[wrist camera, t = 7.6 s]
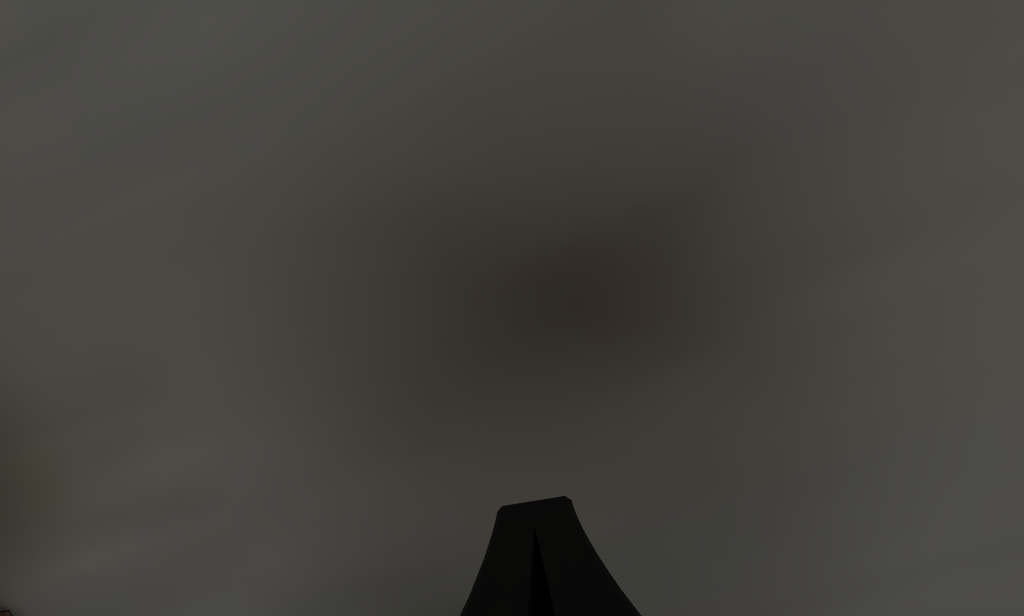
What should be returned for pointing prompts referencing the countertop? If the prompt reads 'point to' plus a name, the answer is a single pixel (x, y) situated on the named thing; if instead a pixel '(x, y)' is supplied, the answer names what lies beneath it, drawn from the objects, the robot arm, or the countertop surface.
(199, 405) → the countertop surface
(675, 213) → the countertop surface
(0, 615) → the can dock
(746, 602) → the countertop surface
